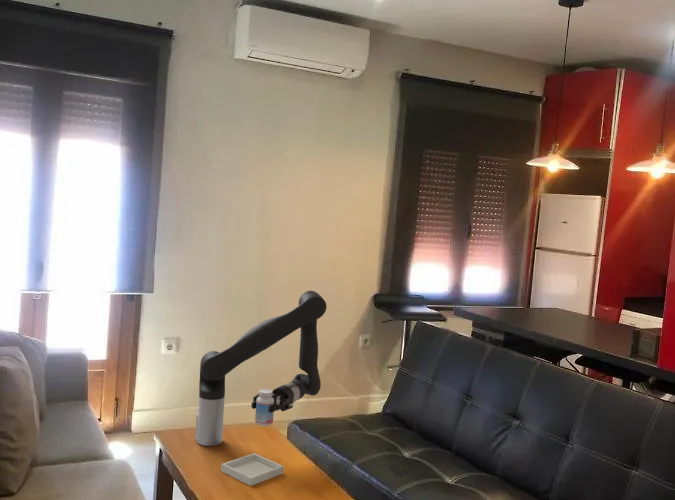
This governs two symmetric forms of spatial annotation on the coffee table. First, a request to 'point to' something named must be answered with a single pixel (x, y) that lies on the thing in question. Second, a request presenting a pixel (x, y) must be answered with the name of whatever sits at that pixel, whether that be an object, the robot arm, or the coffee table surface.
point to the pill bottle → (264, 408)
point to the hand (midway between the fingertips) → (261, 407)
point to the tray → (252, 469)
